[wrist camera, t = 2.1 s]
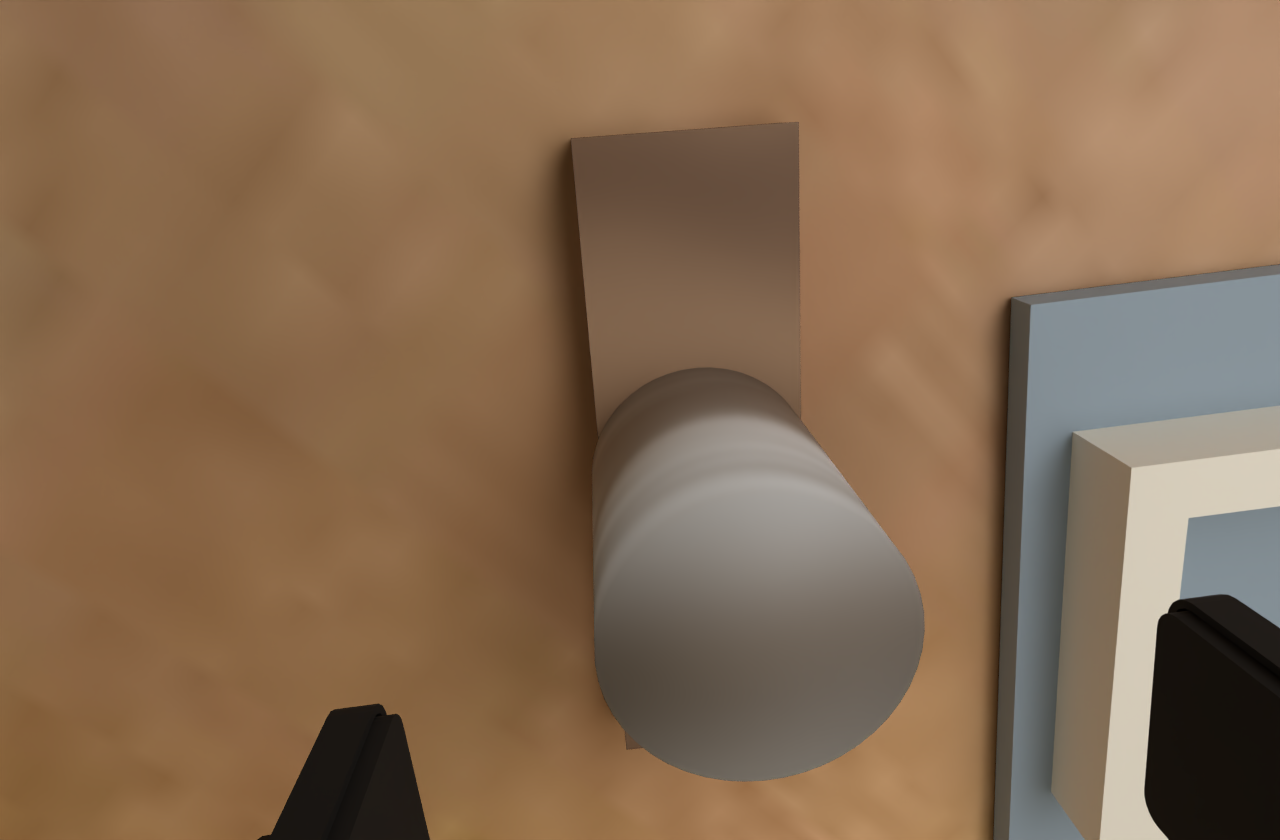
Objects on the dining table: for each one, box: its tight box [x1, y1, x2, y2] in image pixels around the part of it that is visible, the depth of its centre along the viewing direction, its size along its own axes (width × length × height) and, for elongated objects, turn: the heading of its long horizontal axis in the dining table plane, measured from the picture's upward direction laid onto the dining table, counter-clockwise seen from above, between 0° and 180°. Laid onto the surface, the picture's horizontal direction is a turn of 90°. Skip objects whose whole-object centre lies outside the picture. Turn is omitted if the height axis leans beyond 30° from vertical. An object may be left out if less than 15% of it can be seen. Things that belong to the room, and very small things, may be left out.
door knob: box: [571, 122, 924, 781], centre depth 15 cm, size 13×4×8 cm, turn 4°
